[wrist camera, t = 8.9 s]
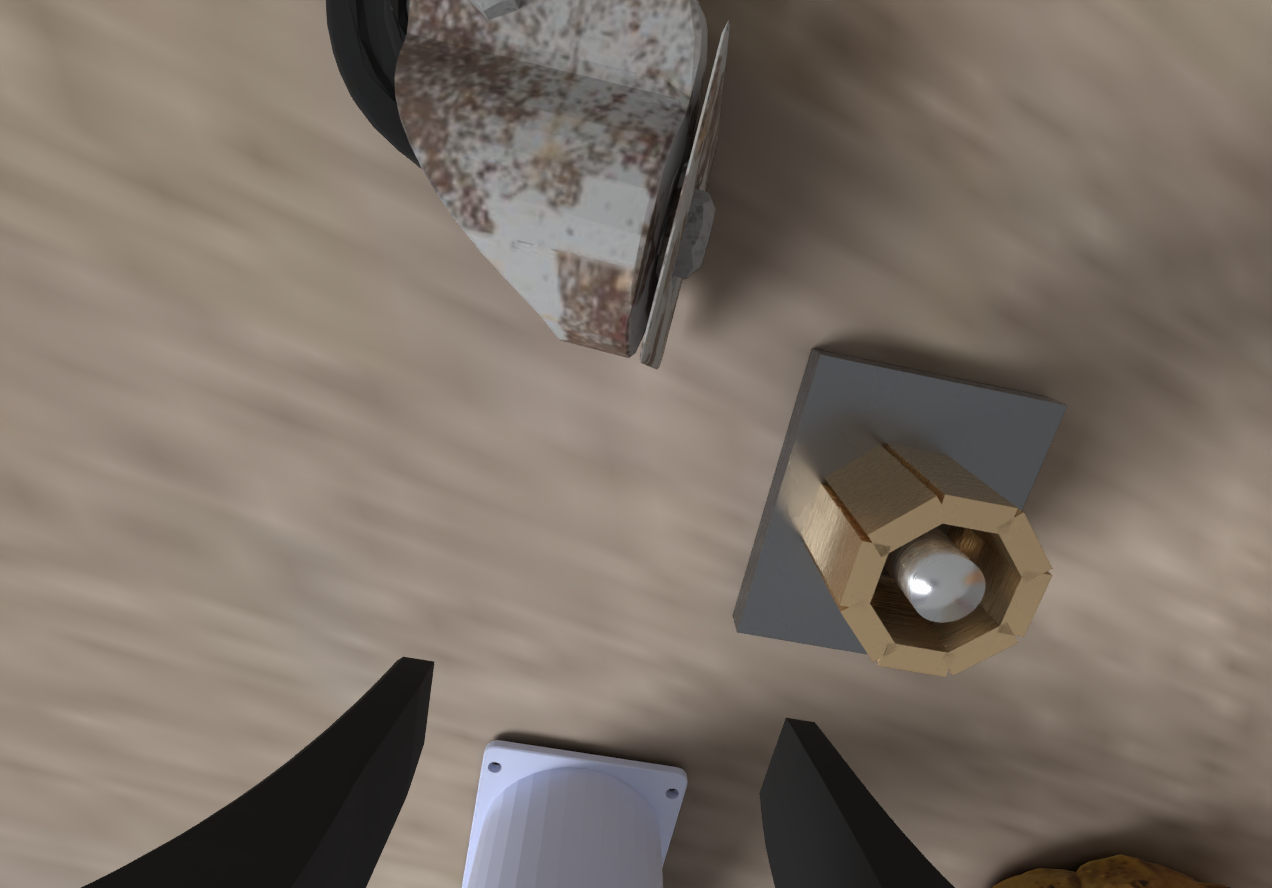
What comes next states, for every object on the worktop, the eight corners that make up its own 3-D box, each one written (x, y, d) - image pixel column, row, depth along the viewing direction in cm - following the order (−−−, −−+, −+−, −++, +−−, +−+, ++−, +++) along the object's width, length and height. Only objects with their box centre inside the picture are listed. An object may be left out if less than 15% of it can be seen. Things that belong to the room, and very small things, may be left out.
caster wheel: (441, -93, 19) (779, -18, 18) (361, 293, 20) (676, 374, 20) (306, -349, 12) (828, -244, 12) (200, 248, 14) (668, 369, 13)
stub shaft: (940, 651, 25) (1014, 755, 20) (732, 615, 24) (758, 714, 19) (1047, 397, 21) (1167, 449, 17) (811, 348, 21) (866, 387, 16)
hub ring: (939, 607, 23) (1000, 685, 19) (788, 581, 22) (821, 656, 19) (997, 464, 21) (1078, 519, 17) (835, 433, 21) (882, 482, 17)
